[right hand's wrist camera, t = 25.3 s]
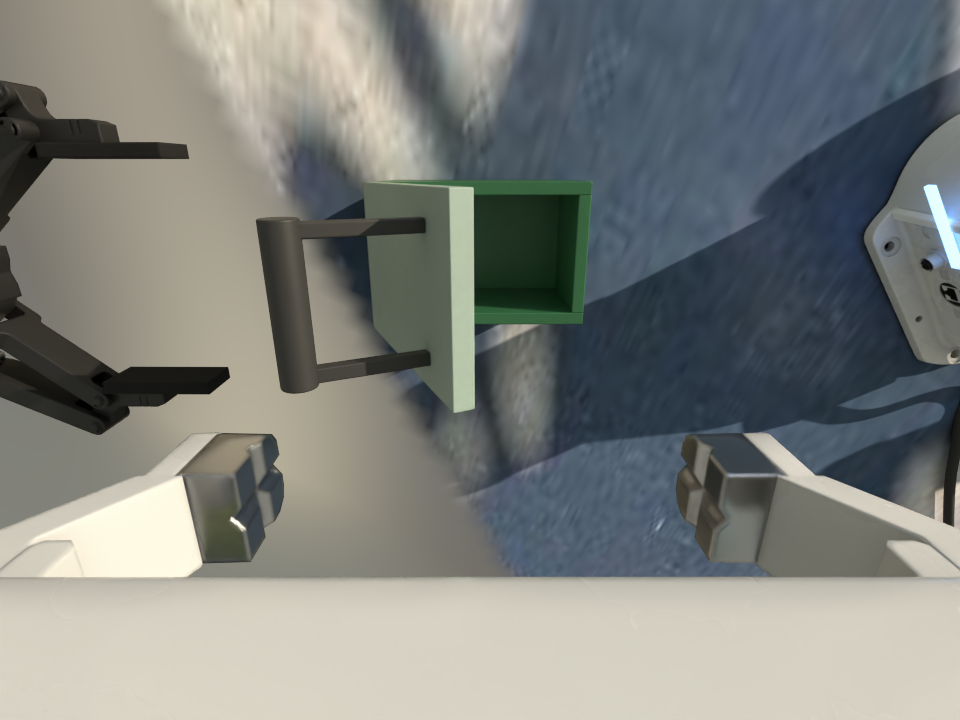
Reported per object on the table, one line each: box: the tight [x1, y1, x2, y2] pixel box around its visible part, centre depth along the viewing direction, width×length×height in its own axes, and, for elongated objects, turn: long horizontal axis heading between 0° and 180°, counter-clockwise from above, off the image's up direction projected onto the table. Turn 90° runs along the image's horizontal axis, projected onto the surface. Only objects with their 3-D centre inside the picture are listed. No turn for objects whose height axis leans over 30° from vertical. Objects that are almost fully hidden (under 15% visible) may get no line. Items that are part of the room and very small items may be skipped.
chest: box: [378, 180, 592, 324], centre depth 40 cm, size 15×10×10 cm
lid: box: [256, 182, 475, 413], centre depth 27 cm, size 15×10×8 cm
